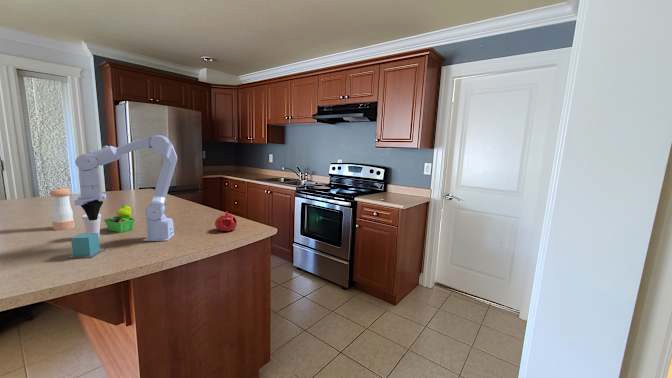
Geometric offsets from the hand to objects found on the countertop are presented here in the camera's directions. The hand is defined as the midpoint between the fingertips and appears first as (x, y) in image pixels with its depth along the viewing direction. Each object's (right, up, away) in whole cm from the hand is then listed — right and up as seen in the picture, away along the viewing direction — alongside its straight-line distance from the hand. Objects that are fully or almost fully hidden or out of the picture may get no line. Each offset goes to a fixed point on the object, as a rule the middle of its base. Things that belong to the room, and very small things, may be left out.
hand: (93, 219), depth 108 cm
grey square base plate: (+5, -12, -9) cm, 15 cm away
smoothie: (-8, -9, +9) cm, 15 cm away
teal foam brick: (+5, -11, -9) cm, 15 cm away
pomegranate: (+42, -8, +26) cm, 50 cm away
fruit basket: (-5, -7, +21) cm, 22 cm away
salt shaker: (-31, -6, +20) cm, 38 cm away
